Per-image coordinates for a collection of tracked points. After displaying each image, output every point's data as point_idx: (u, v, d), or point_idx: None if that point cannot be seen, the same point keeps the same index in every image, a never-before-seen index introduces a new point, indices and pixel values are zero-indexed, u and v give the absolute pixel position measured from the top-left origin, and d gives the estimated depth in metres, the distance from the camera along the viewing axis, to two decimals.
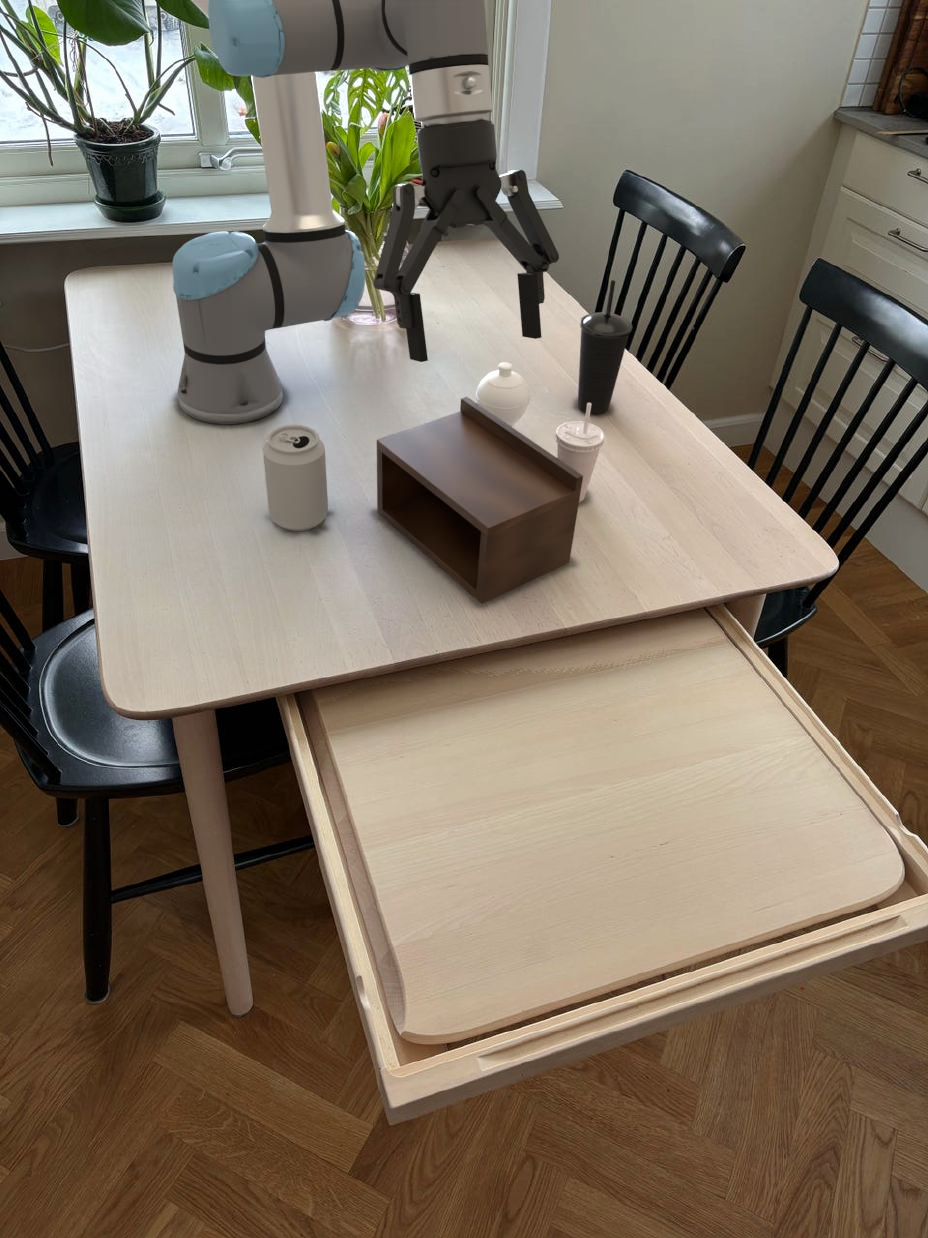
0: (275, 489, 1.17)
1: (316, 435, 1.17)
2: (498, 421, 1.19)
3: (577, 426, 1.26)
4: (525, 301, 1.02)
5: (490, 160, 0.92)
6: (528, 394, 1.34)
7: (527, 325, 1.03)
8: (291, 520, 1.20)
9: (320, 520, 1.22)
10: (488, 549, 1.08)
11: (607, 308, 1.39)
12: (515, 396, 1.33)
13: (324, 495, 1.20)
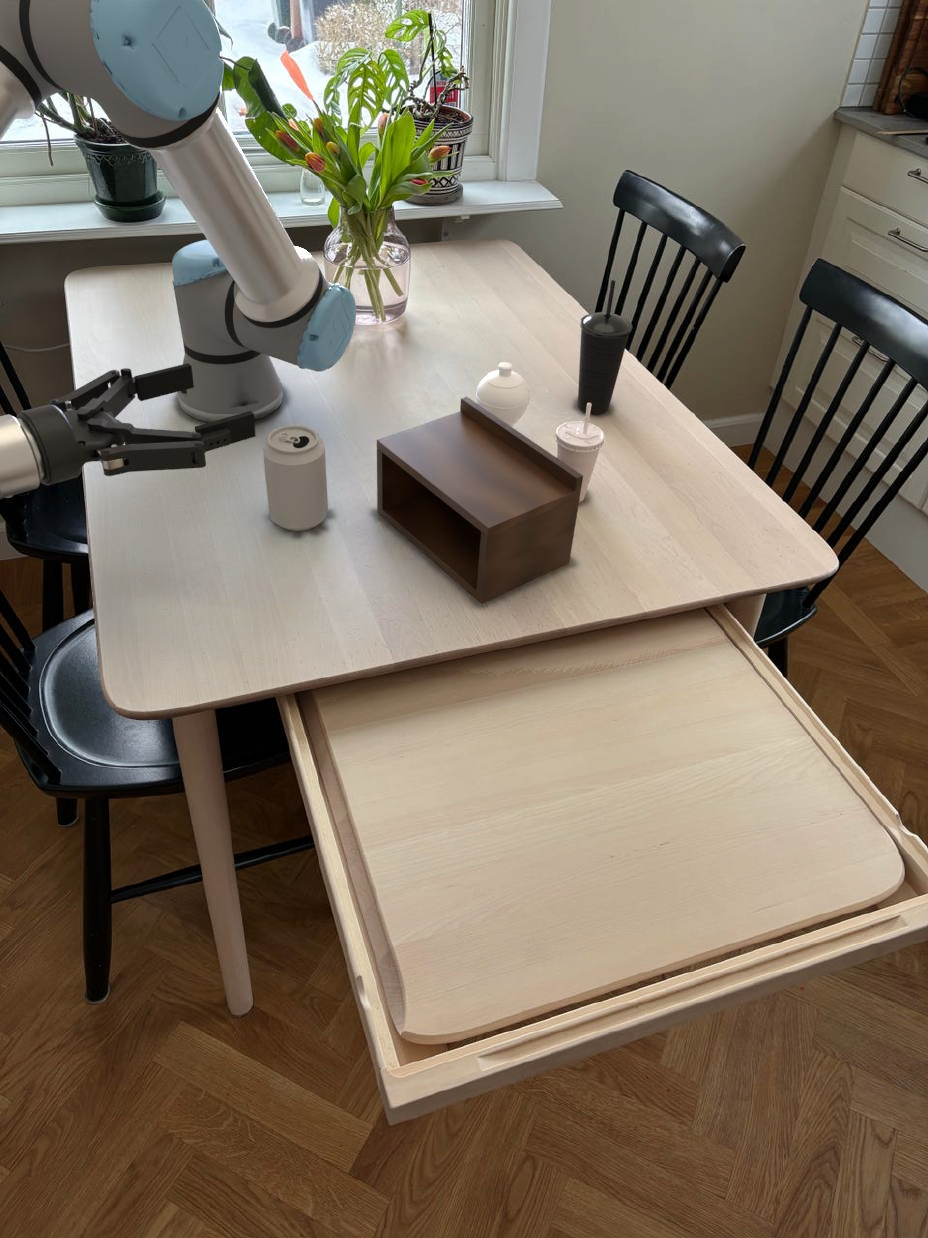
0: (275, 489, 1.17)
1: (316, 435, 1.17)
2: (498, 421, 1.19)
3: (577, 426, 1.26)
4: None
5: None
6: (528, 394, 1.34)
7: None
8: (291, 520, 1.20)
9: (320, 520, 1.22)
10: (488, 549, 1.08)
11: (607, 308, 1.39)
12: (515, 396, 1.33)
13: (324, 495, 1.20)
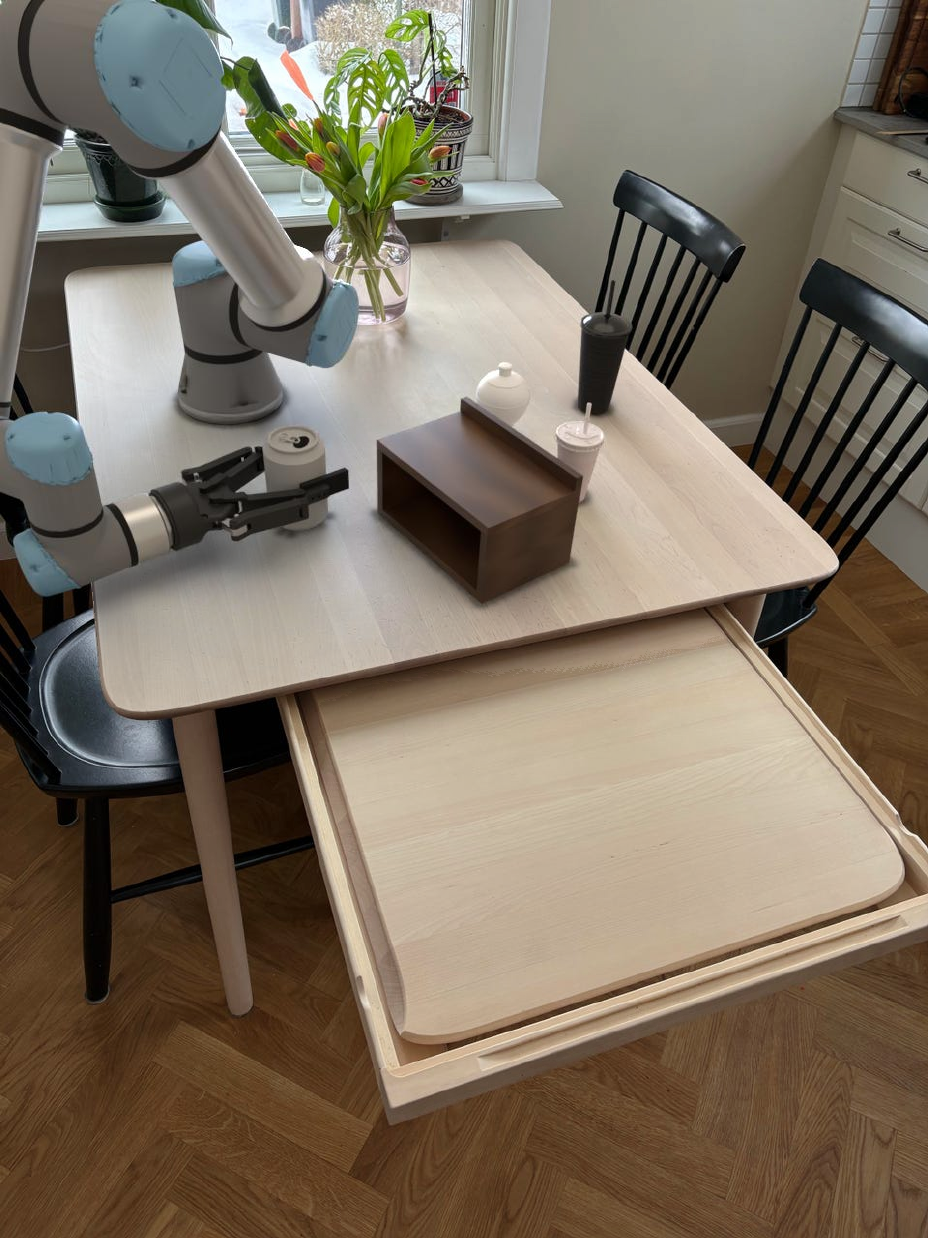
0: (275, 489, 1.17)
1: (316, 435, 1.17)
2: (498, 421, 1.19)
3: (577, 426, 1.26)
4: None
5: None
6: (528, 394, 1.34)
7: None
8: None
9: (320, 520, 1.22)
10: (488, 549, 1.08)
11: (607, 308, 1.39)
12: (515, 396, 1.33)
13: None
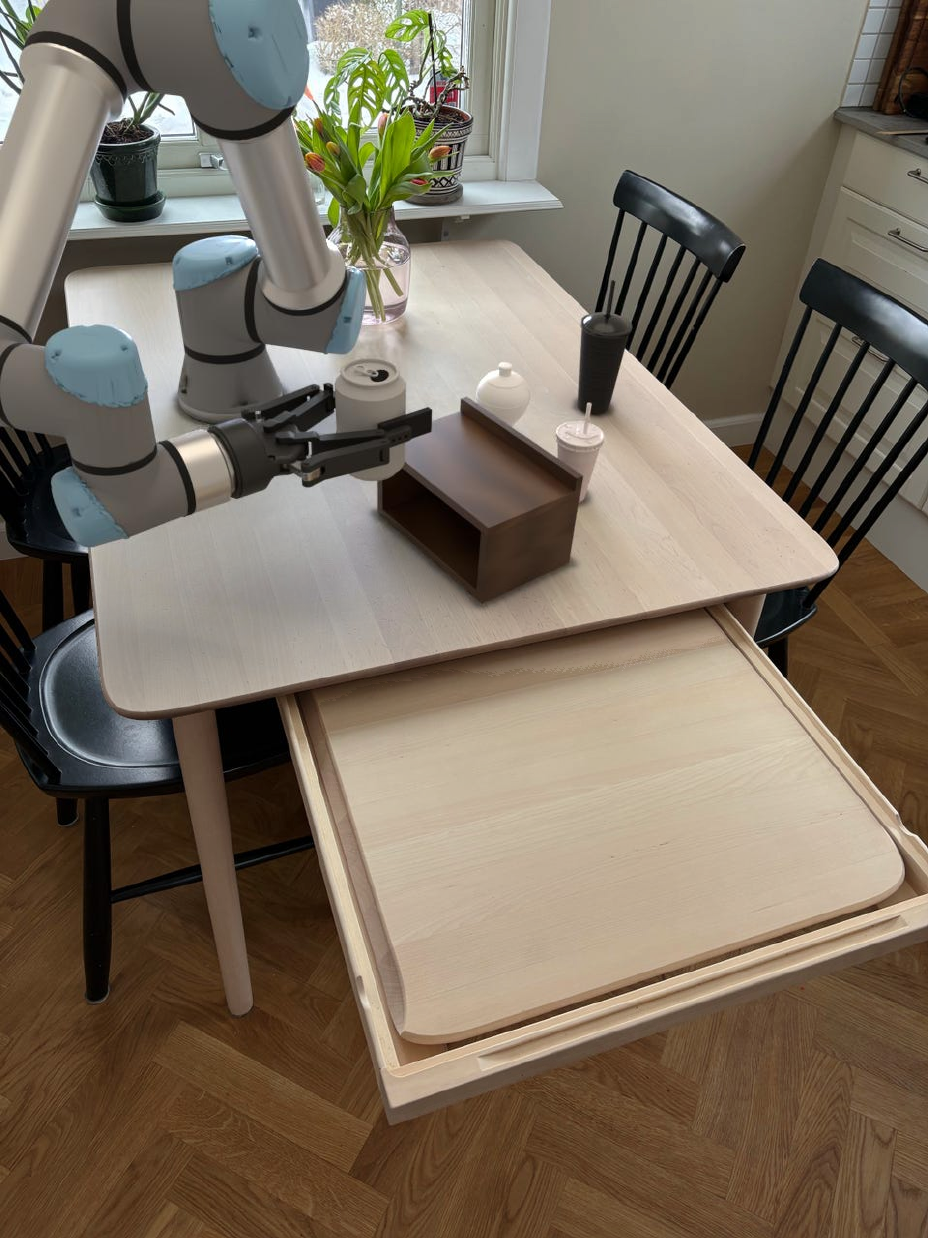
0: (349, 431, 1.02)
1: (396, 368, 1.01)
2: (498, 421, 1.19)
3: (577, 426, 1.26)
4: None
5: None
6: (528, 394, 1.34)
7: None
8: None
9: (397, 469, 1.06)
10: (488, 549, 1.08)
11: (607, 308, 1.39)
12: (515, 396, 1.33)
13: None
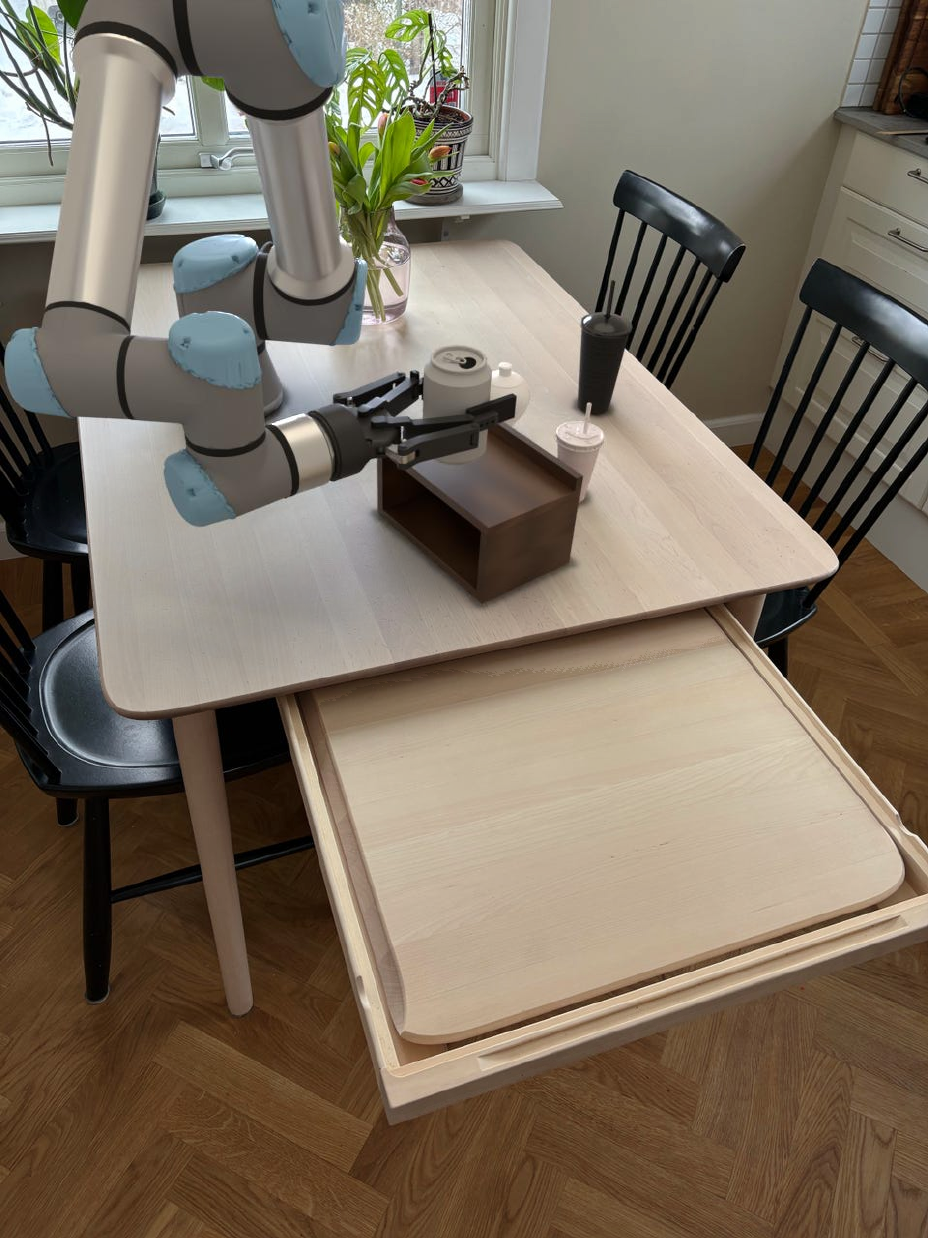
0: (437, 416, 1.05)
1: (484, 355, 1.04)
2: None
3: (577, 426, 1.26)
4: None
5: None
6: (528, 394, 1.34)
7: None
8: None
9: (480, 453, 1.09)
10: (488, 549, 1.08)
11: (607, 308, 1.39)
12: None
13: None
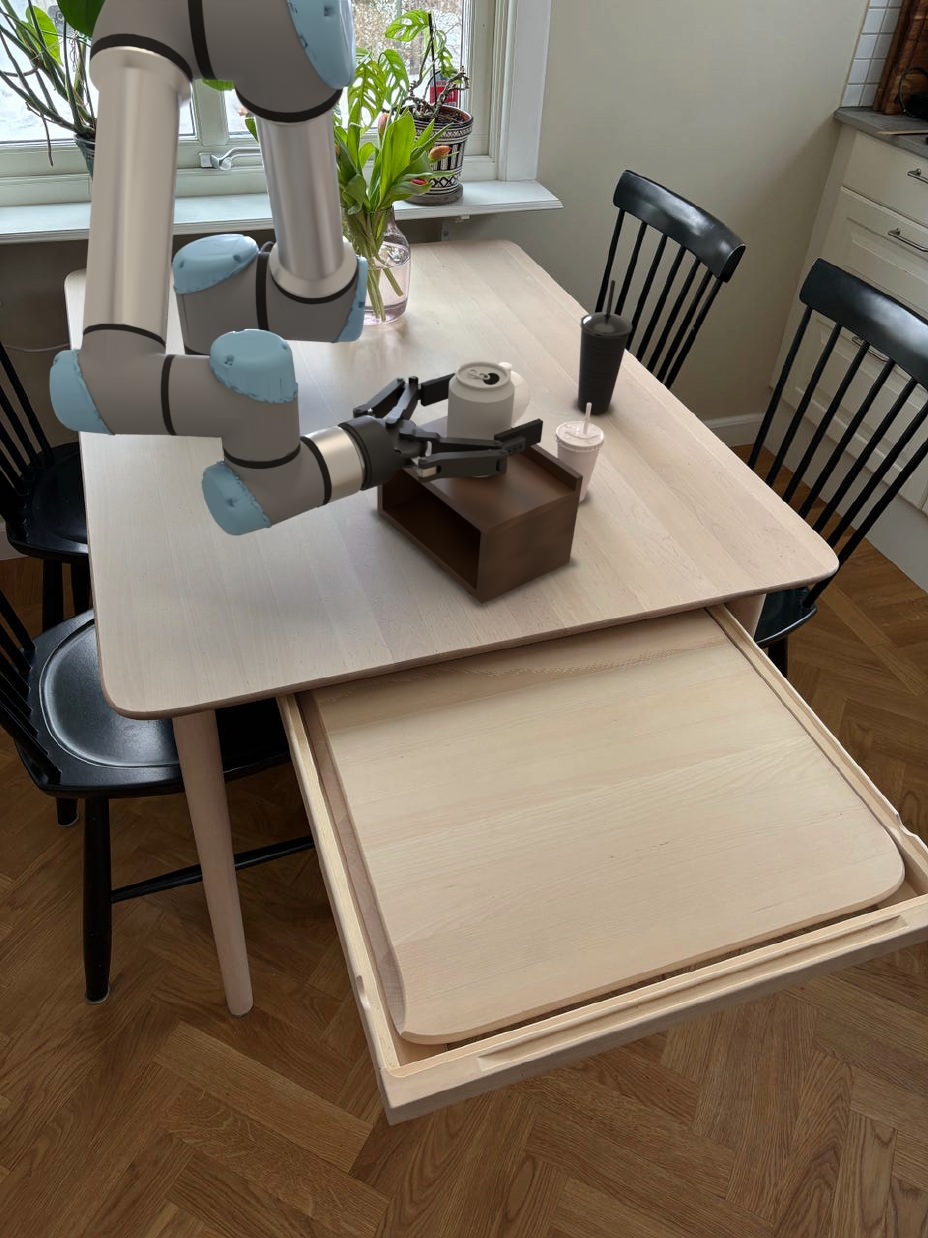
0: (461, 430, 1.09)
1: (506, 371, 1.08)
2: None
3: (577, 426, 1.26)
4: None
5: None
6: (528, 394, 1.34)
7: None
8: None
9: None
10: (488, 549, 1.08)
11: (607, 308, 1.39)
12: (515, 396, 1.33)
13: None
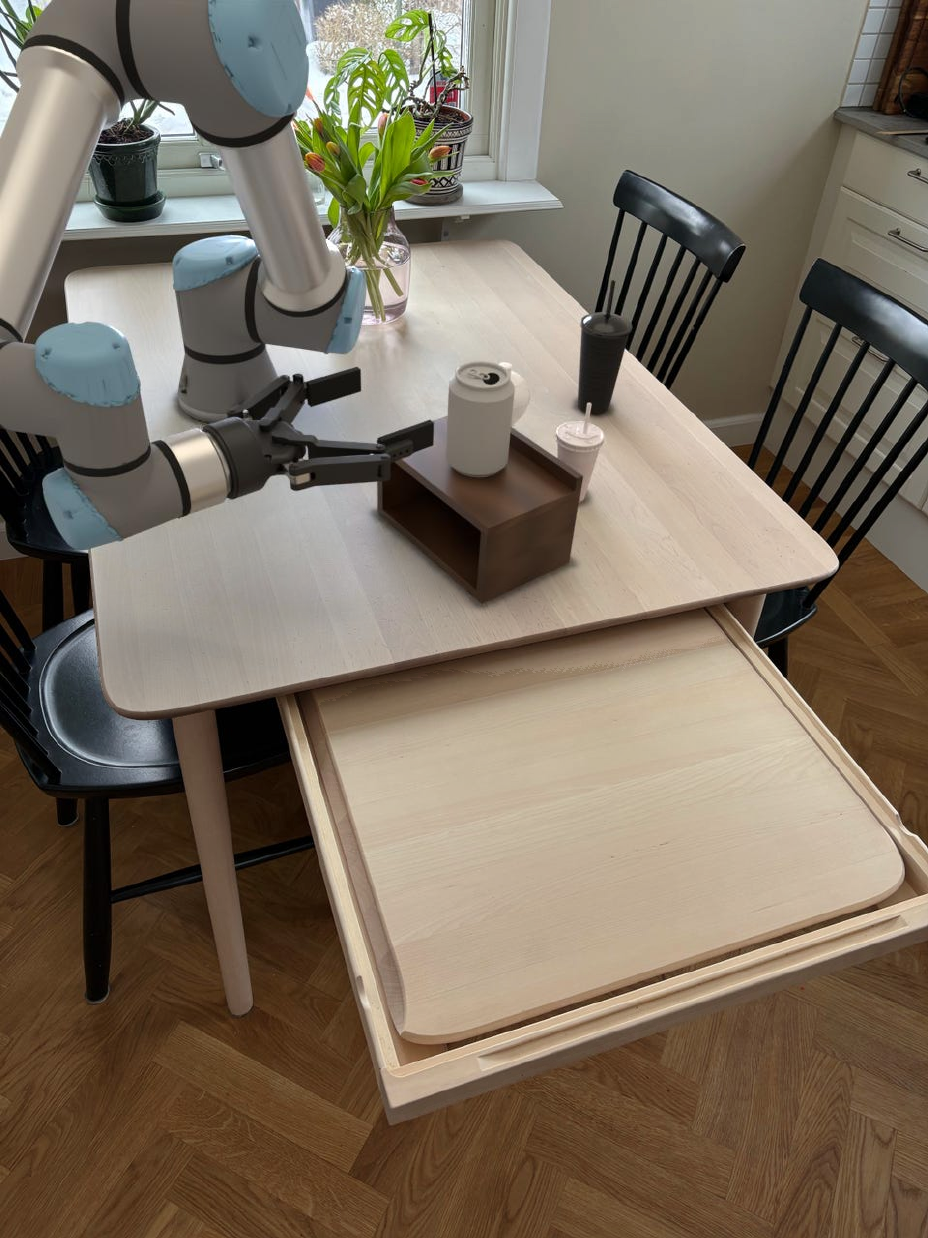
0: (461, 430, 1.09)
1: (506, 371, 1.08)
2: None
3: (577, 426, 1.26)
4: None
5: None
6: (528, 394, 1.34)
7: None
8: (474, 464, 1.11)
9: (502, 466, 1.13)
10: (488, 549, 1.08)
11: (607, 308, 1.39)
12: (515, 396, 1.33)
13: (508, 438, 1.12)
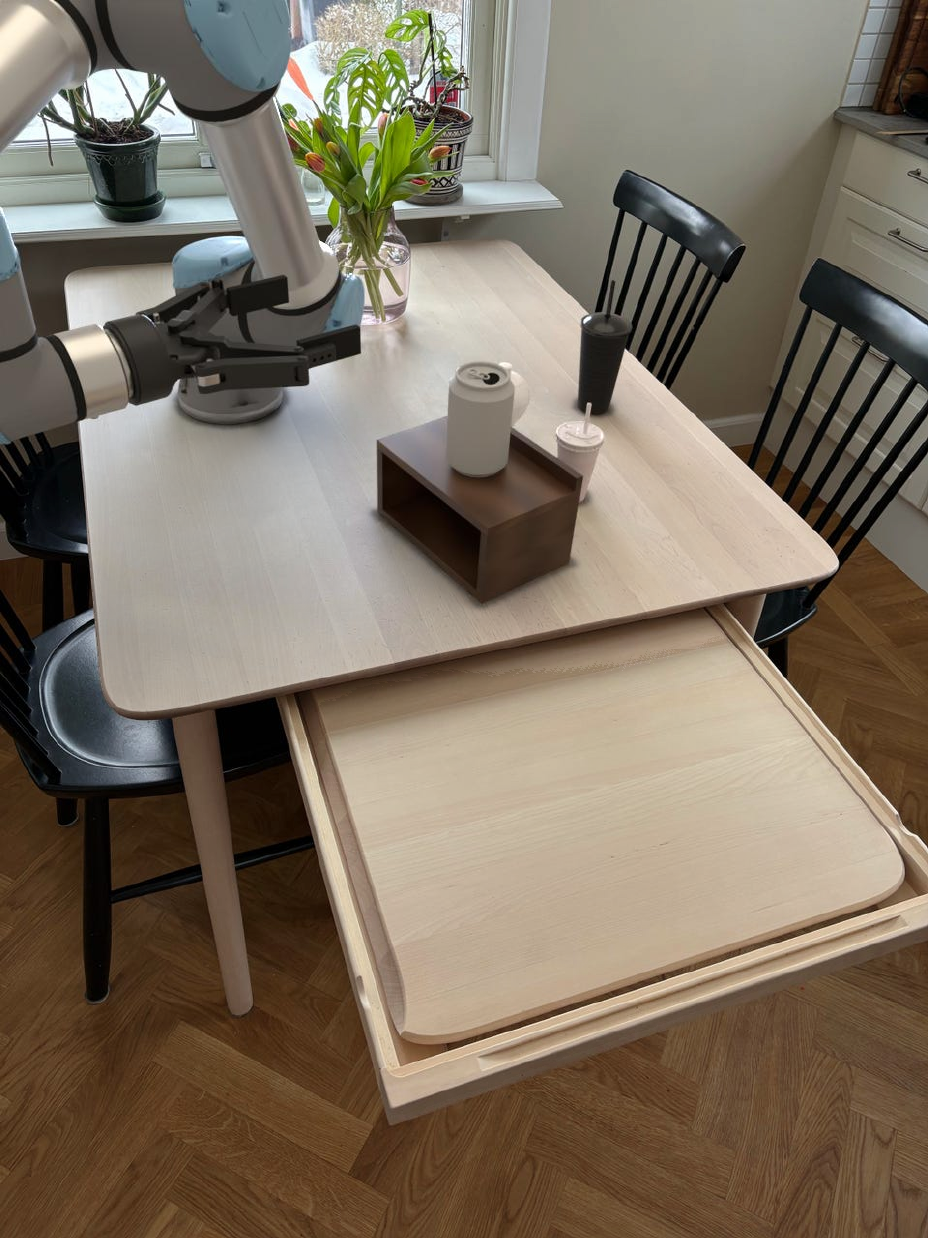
0: (461, 430, 1.09)
1: (506, 371, 1.08)
2: None
3: (577, 426, 1.26)
4: None
5: None
6: (528, 394, 1.34)
7: None
8: (474, 464, 1.11)
9: (502, 466, 1.13)
10: (488, 549, 1.08)
11: (607, 308, 1.39)
12: (515, 396, 1.33)
13: (508, 438, 1.12)
